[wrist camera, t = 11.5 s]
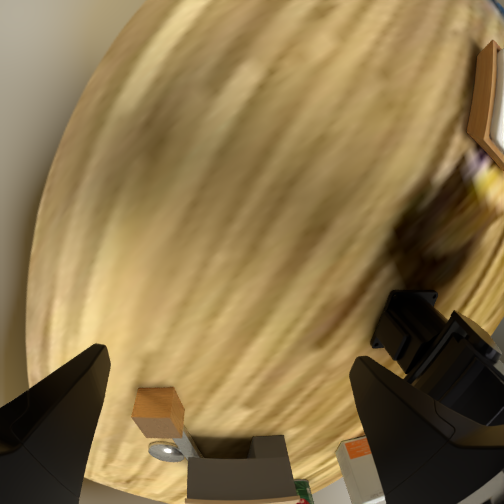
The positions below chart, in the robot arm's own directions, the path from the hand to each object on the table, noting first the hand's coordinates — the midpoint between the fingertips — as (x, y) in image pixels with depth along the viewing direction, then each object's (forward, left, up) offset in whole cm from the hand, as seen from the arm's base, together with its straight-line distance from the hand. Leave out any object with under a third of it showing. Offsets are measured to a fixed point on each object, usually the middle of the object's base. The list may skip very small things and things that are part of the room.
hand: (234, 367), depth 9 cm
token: (+6, +31, -12) cm, 33 cm away
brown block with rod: (+4, +24, -12) cm, 27 cm away
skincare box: (-22, +31, -12) cm, 40 cm away
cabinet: (-3, +31, -12) cm, 33 cm away
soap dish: (-25, -18, -12) cm, 33 cm away
